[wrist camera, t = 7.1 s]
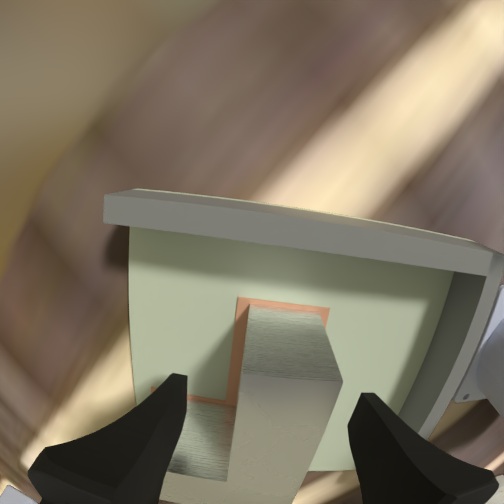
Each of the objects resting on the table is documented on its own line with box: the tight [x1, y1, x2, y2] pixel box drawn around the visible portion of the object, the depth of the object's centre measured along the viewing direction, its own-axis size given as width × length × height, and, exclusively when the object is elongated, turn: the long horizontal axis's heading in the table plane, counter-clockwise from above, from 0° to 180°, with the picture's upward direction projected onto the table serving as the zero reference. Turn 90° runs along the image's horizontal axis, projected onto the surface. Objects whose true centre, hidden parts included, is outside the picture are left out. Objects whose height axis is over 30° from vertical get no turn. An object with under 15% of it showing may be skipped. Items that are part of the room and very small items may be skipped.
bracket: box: [159, 303, 343, 504], centre depth 12 cm, size 9×7×5 cm
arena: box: [103, 189, 504, 471], centre depth 13 cm, size 16×16×3 cm
